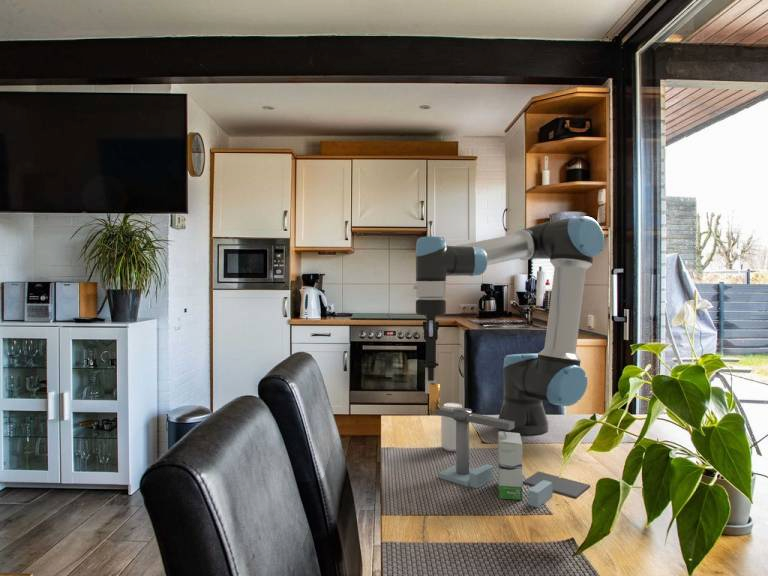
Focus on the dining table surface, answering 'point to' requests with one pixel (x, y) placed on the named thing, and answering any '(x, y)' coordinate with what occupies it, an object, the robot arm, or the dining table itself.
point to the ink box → (509, 465)
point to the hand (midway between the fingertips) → (430, 392)
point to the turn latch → (463, 412)
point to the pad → (559, 484)
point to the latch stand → (484, 470)
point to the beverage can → (449, 429)
